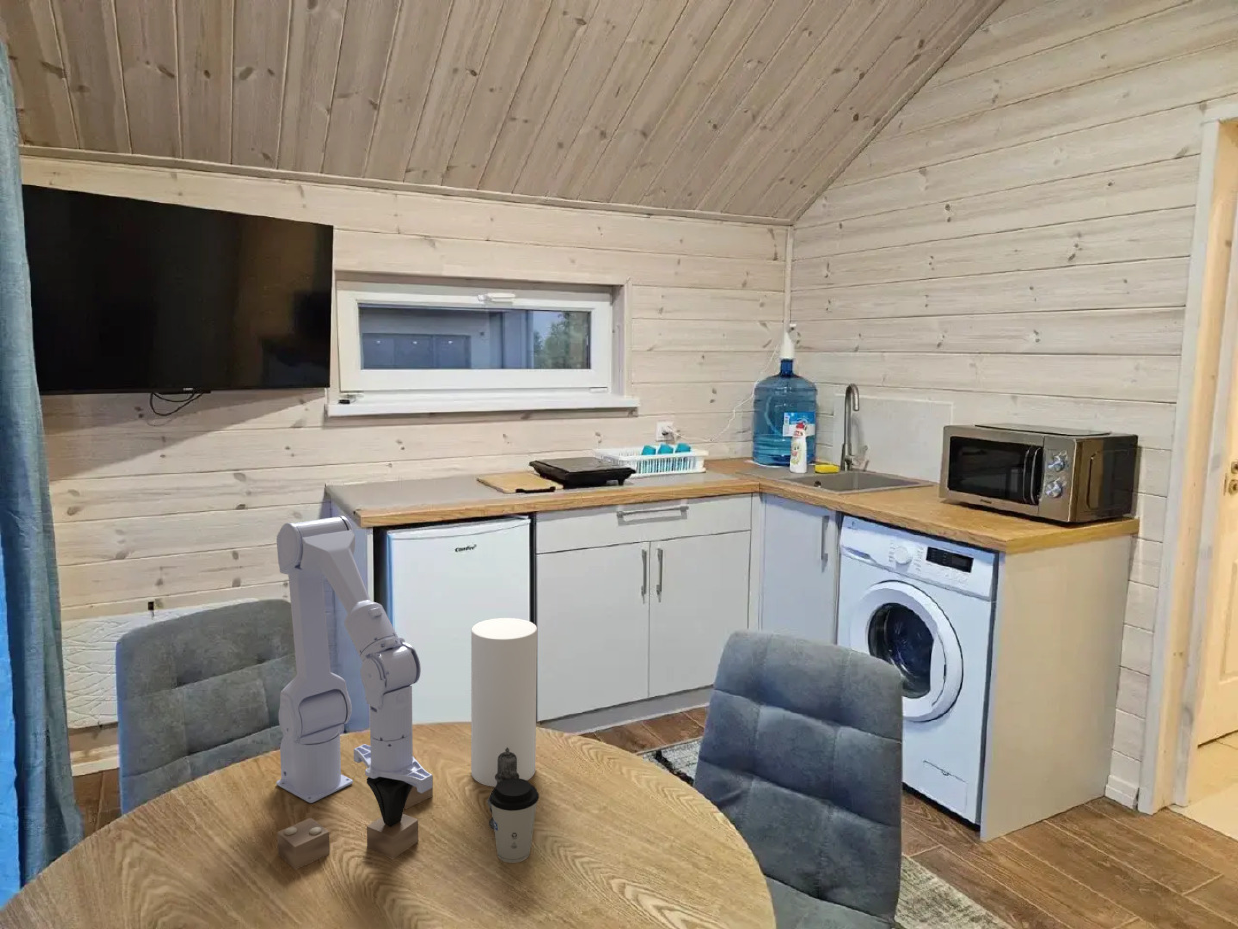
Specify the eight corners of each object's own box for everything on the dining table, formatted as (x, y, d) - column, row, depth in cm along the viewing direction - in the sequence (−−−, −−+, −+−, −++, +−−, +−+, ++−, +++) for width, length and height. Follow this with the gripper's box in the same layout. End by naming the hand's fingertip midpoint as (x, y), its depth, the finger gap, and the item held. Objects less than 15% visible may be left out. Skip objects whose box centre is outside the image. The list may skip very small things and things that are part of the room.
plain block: (367, 849, 119) (366, 826, 118) (392, 831, 123) (392, 809, 122) (393, 860, 116) (393, 837, 116) (418, 842, 121) (418, 819, 120)
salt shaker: (519, 836, 122) (519, 759, 121) (481, 830, 123) (481, 754, 122) (531, 814, 128) (532, 740, 126) (494, 809, 129) (495, 736, 127)
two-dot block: (277, 855, 117) (277, 830, 116) (311, 840, 120) (310, 816, 120) (295, 871, 113) (295, 845, 113) (329, 855, 117) (329, 830, 117)
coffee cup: (546, 844, 120) (547, 779, 119) (525, 873, 114) (526, 804, 112) (502, 834, 123) (503, 770, 121) (479, 861, 116) (480, 794, 115)
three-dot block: (387, 798, 132) (386, 776, 131) (413, 786, 136) (413, 764, 135) (406, 810, 129) (406, 787, 128) (432, 797, 133) (432, 775, 132)
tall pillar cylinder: (531, 788, 136) (533, 640, 132) (465, 786, 136) (465, 638, 132) (538, 756, 146) (540, 618, 143) (477, 754, 146) (477, 616, 143)
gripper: (334, 727, 118) (337, 817, 120) (403, 758, 110) (404, 854, 112) (375, 710, 124) (377, 796, 126) (443, 738, 115) (444, 830, 117)
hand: (392, 822), depth 119 cm, fingers closed
